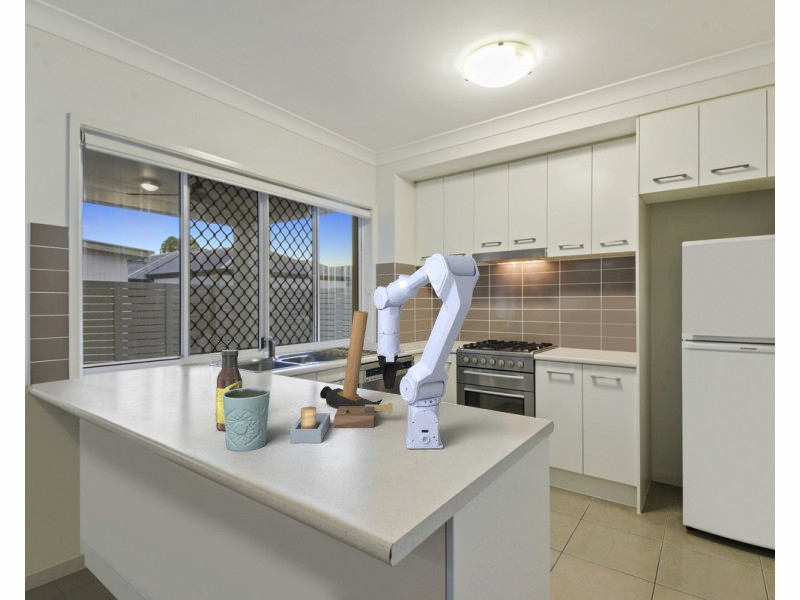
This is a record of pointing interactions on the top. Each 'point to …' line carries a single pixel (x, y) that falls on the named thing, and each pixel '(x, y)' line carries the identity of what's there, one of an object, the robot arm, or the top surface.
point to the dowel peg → (308, 418)
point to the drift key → (381, 407)
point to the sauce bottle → (226, 383)
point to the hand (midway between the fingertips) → (388, 385)
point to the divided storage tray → (311, 430)
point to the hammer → (351, 369)
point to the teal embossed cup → (246, 418)
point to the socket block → (354, 417)
